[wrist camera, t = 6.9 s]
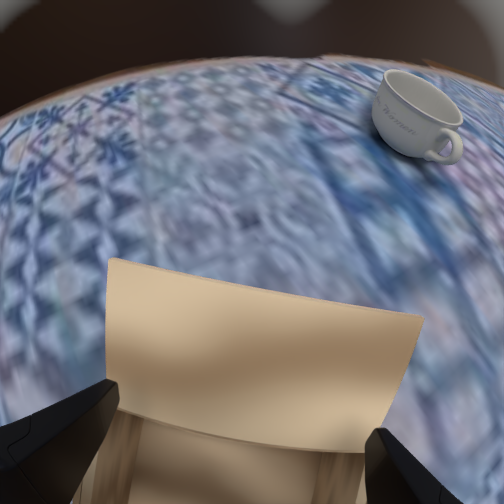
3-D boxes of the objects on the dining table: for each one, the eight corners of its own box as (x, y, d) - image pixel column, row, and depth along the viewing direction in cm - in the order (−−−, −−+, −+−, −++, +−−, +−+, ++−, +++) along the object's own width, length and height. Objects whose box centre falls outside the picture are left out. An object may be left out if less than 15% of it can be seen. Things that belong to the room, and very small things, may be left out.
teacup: (356, 107, 37) (373, 59, 30) (422, 122, 37) (443, 81, 30) (382, 184, 30) (412, 130, 23) (456, 196, 31) (490, 153, 24)
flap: (424, 318, 10) (419, 314, 11) (108, 259, 11) (114, 257, 11) (367, 450, 12) (365, 444, 12) (108, 403, 12) (112, 398, 12)
